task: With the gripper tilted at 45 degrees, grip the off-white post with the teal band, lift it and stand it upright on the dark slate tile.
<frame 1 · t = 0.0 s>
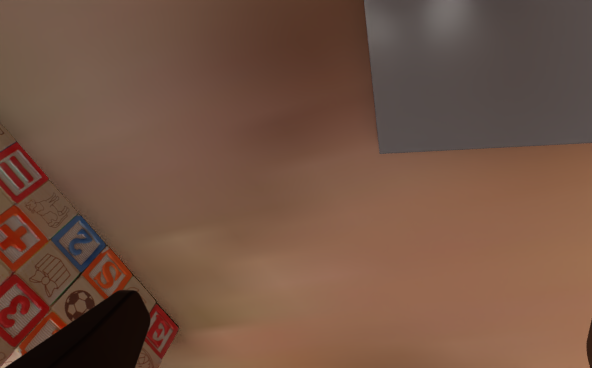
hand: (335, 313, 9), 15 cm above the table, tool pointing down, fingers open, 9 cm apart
stack of blocks: (70, 237, 33), on the table
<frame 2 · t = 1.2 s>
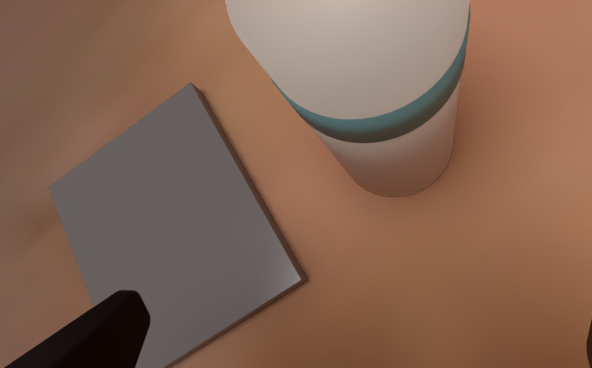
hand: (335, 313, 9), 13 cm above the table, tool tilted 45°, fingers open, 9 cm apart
slate tile: (172, 230, 26), on the table
banded post: (394, 143, 23), on the table
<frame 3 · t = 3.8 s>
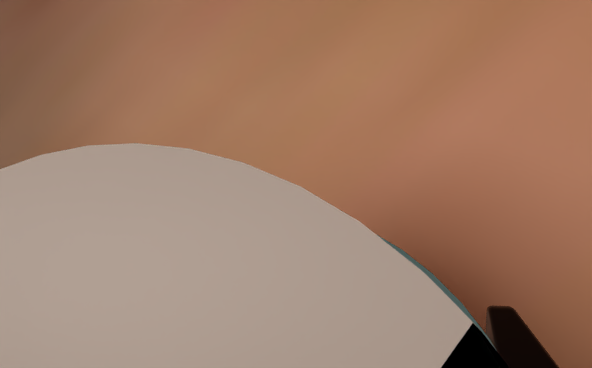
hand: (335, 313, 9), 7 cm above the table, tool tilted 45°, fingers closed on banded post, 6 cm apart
banded post: (378, 343, 15), on the table, touching gripper
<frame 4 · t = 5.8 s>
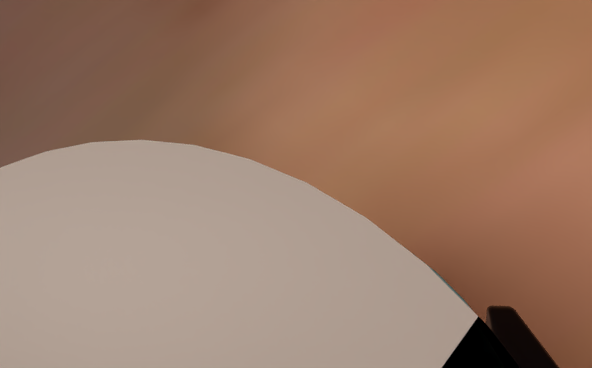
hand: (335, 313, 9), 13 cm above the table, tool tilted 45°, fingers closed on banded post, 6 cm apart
banded post: (379, 342, 15), point 6 cm above the table, touching gripper
when the fingers open (10 cm above the table, at t = 7.8 s): banded post drops 1 cm, resting on slate tile.
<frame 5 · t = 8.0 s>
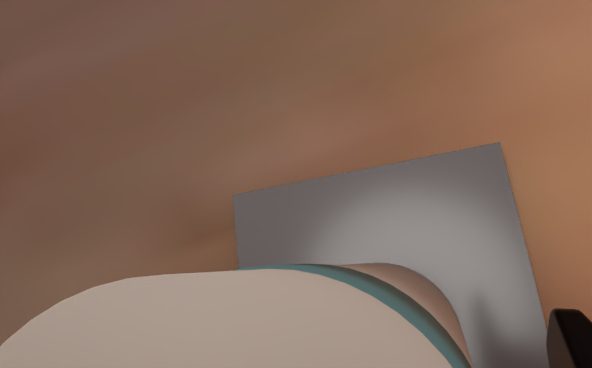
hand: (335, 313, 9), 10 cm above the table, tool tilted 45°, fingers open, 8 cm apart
slate tile: (386, 334, 18), on the table
banded post: (382, 340, 17), point 1 cm above the table, touching slate tile
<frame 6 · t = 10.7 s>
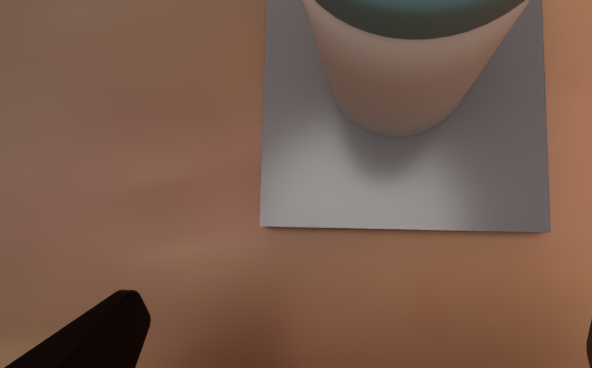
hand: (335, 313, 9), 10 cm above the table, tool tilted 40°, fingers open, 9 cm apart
slate tile: (395, 77, 19), on the table
banded post: (397, 68, 18), point 1 cm above the table, touching slate tile
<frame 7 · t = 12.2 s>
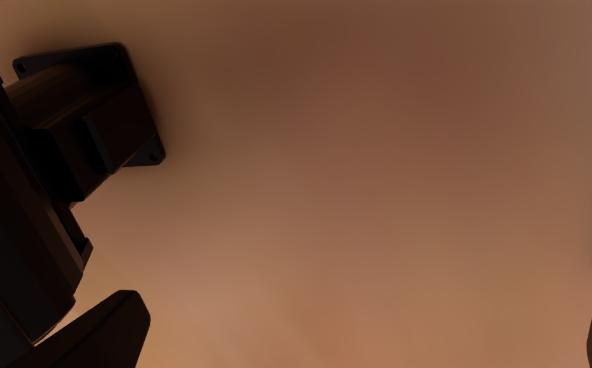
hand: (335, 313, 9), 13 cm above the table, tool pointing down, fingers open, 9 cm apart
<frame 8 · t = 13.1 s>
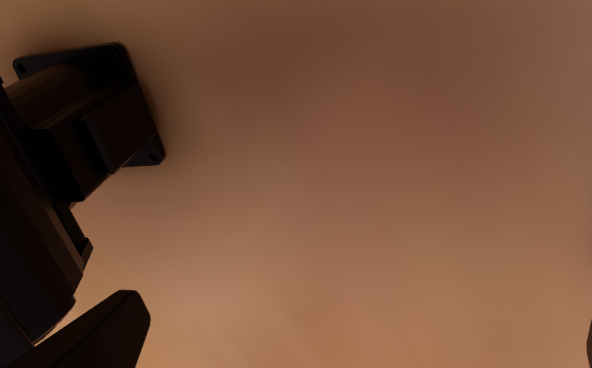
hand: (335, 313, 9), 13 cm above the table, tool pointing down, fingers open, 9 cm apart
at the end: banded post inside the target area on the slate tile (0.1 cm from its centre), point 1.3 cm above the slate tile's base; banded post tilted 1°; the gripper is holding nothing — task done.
